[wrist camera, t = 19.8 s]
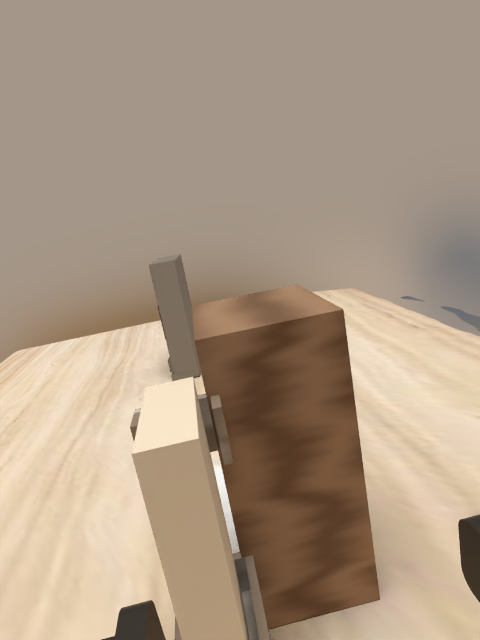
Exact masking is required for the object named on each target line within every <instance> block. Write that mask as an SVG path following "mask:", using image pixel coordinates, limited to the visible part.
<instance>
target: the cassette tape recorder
mask: <svg viewBox="0 0 480 640" xmlns="http://www.w3.org/2000/svg"><path fill="white" fill-rule="evenodd" d="M149 269H150V273H151V277H152V282H153V286H154V290H155V295H156V299H157V303H158V309H159V313H160V317H161V322H162V326H163V331H164V335H165V339H166V341H167V346H168V350H169V354H170V357H169V360H168V363H169V367H170V371H171V372H173V373H172V380H173V381H176V380H179V379H184V378H189V377H199V376H200V372H201V369H200V364H199V359H198V355H197V350H196V346H195V341H194V329H193V315H192V305H191V300H190V296H189V291H188V286H187V282H186V277H185V272H184V268H183V263H182V258H181V255H175V256H170V257H164V258H159V259H157V260H156V261H154V262H152V263H151V264H149Z"/></svg>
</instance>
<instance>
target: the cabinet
mask: <svg viewBox="0 0 480 640" xmlns="http://www.w3.org/2000/svg"><path fill="white" fill-rule="evenodd" d="M192 315H193V329H194V341H195V346H196V350H197V355H198V359H199V364H200V369H201V373H202V378H203V382H204V387H205V392H206V394H203V395H198V401H199V405H200V410H201V414H202V419H203V423H204V428H205V432H206V437H207V441H208V446H209V450H210V452H213V451H217V450H218V452H219V456H220V461H221V466H222V470H223V475H224V480H225V484H226V489H227V493H228V498H229V503H230V507H231V512H232V516H233V521H234V526H235V530H236V535H237V540H238V544H239V549H240V552H238V553H234V554H233V558H234V563H235V567H236V572H237V576H238V581H239V585H240V590H241V594H242V599H243V603H244V609H245V615H246V621H247V626H248V632H249V638H250V640H270V636H269V631H268V629H271V628H274V627H278V626H282V625H285V624H289V623H293V622H297V621H300V620H304V619H308V618H312V617H315V616H319V615H323V614H326V613H330V612H334V611H338V610H341V609H345V608H349V607H353V606H356V605H360V604H364V603H367V602H371V601H375V600H379V599H380V597H379V589H378V581H377V573H376V565H375V557H374V549H373V541H372V533H371V525H370V518H369V510H368V502H367V494H366V486H365V478H364V470H363V462H362V454H361V446H360V438H359V430H358V422H357V414H356V406H355V399H354V391H353V383H352V375H351V367H350V359H349V351H348V343H347V335H346V327H345V319H344V311H343V309H342V308H340V307H338V306H336V305H334V304H332V303H331V302H329V301H327V300H325V299H323V298H321V297H319V296H317V295H316V294H314V293H312V292H310V291H308V290H306V289H304V288H302V287H301V286H299V285H293V286H288V287H283V288H278V289H273V290H268V291H263V292H258V293H253V294H248V295H243V296H238V297H234V298H229V299H224V300H219V301H214V302H209V303H204V304H200V305H194V306H192ZM140 412H141V408H139V409H135V412H134V415H133V419H132V423H131V426H130V428H131V432H132V436H133V440H135V436H136V431H137V426H138V421H139V417H140ZM175 640H182V637H181V634H180V630H179V626H178V623H177V619H176V615H175Z"/></svg>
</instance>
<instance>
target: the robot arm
mask: <svg viewBox="0 0 480 640" xmlns="http://www.w3.org/2000/svg"><path fill="white" fill-rule="evenodd" d="M458 526H459V540H460V554H461V566H462V571H463V574H464V577H465V579H466V582H467V584H468V586H469V588H470V589H471V591H472V593H473V594H474V595H475V597H476V598H477V599H478V601H479V602H480V515H476V516H472V517H469V518H465V519H461V520H460V521H459V524H458ZM102 640H166V639H165V636H164V633H163V630H162V627H161V624H160V621H159V618H158V614H157V611H156V608H155V605H154V603H153V601H152V600H150V601H146V602H143V603H139V604H135V605H131V606H127V607H124V608H121V610H120V612H119V616H118V622H117V628H116V634H115V636H113V637H110V638H106V639H102Z"/></svg>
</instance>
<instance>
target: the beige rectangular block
mask: <svg viewBox="0 0 480 640" xmlns="http://www.w3.org/2000/svg"><path fill="white" fill-rule="evenodd" d="M132 457H133V461H134V465H135V468H136V472H137V476H138V479H139V483H140V487H141V490H142V494H143V498H144V501H145V505H146V509H147V512H148V516H149V520H150V523H151V527H152V531H153V535H154V538H155V542H156V546H157V549H158V553H159V557H160V560H161V564H162V568H163V571H164V575H165V579H166V582H167V586H168V590H169V593H170V597H171V601H172V604H173V608H174V612H175V615H176V619H177V623H178V626H179V630H180V634H181V637H182V640H250V638H249V632H248V626H247V621H246V615H245V609H244V603H243V599H242V594H241V590H240V585H239V581H238V576H237V572H236V567H235V563H234V558H233V554H232V549H231V545H230V540H229V536H228V531H227V527H226V522H225V518H224V513H223V509H222V504H221V500H220V495H219V491H218V486H217V482H216V477H215V473H214V468H213V464H212V459H211V455H210V450H209V446H208V441H207V437H206V432H205V428H204V423H203V419H202V414H201V410H200V405H199V401H198V396H197V392H196V387H195V382H194V378H193V377H189V378H185V379H180V380H176V381H171V382H167V383H162V384H158V385H153V386H149V387H146V388H145V393H144V398H143V402H142V407H141V412H140V417H139V421H138V426H137V431H136V436H135V440H134V445H133V450H132Z"/></svg>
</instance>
